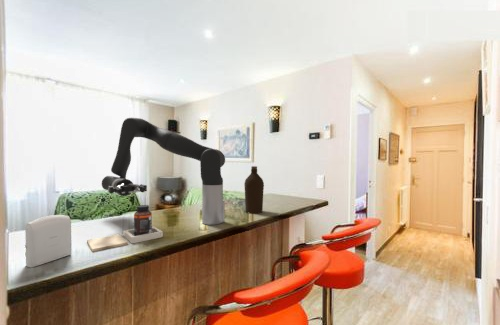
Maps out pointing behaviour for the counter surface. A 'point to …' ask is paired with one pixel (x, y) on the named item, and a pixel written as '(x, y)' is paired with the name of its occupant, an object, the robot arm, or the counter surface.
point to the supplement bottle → (142, 220)
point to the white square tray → (133, 239)
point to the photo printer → (47, 239)
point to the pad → (106, 242)
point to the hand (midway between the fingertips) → (132, 190)
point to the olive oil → (254, 192)
